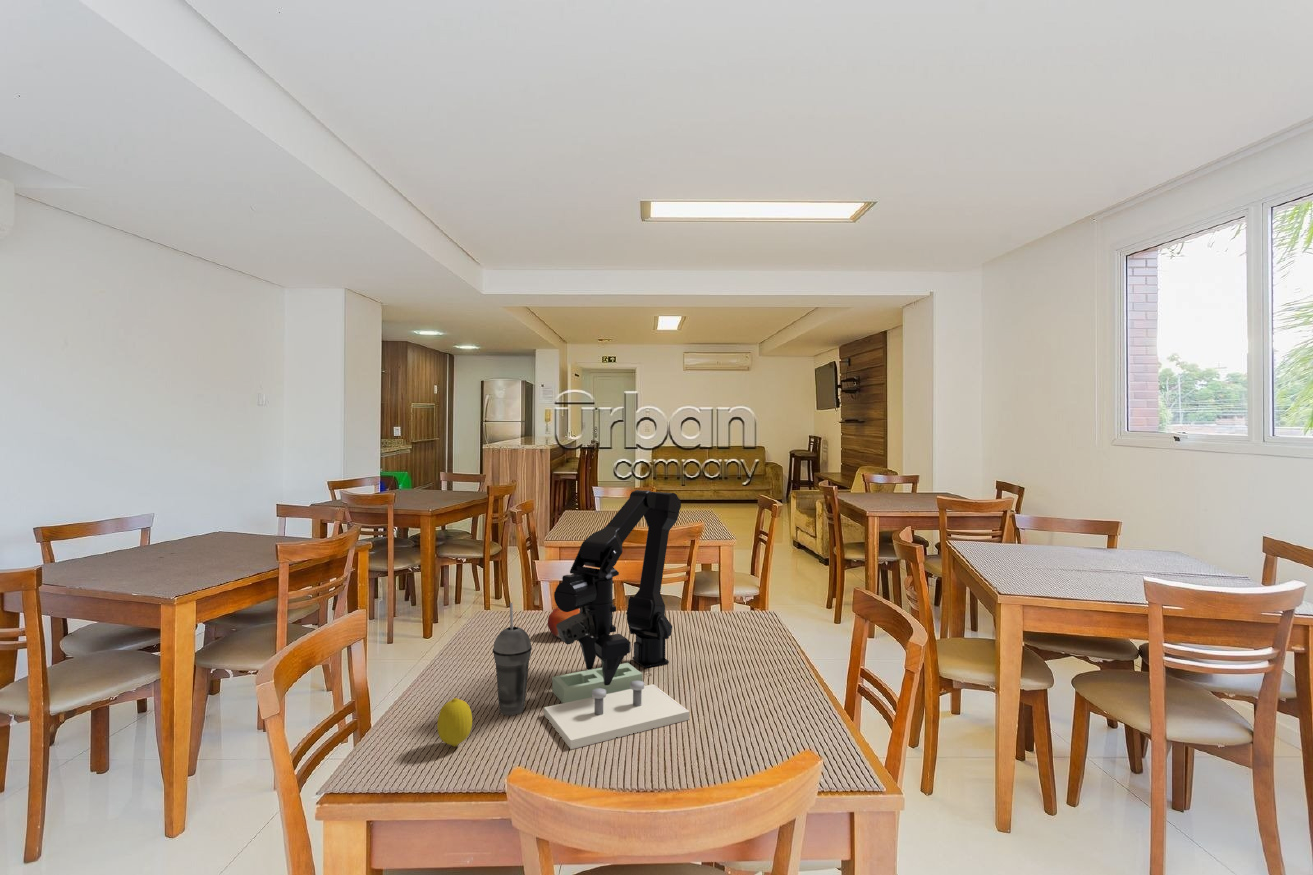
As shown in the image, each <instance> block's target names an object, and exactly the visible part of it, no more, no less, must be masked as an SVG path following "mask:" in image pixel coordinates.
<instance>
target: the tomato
mask: <svg viewBox="0 0 1313 875" xmlns="http://www.w3.org/2000/svg"><path fill="white" fill-rule="evenodd" d="M578 613H580V608H579V609H576V610H573V611H570V612H564V611H562V610H560V609H559V608H558V607H556V608H554V609H553V610H552V611H551V612H550V614H549V615H548V618H547V627H548V629H549V631H550V632H551V634H552V635H553V636H555V637H556V638H559V639H561V638H560V635H559V632H558V630H557V627H556V625H557V624H558V623H560V622H562V621H563V620H565V619H567V618H569V617H571V616H573V615H576V614H578Z"/></svg>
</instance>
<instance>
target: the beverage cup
mask: <svg viewBox="0 0 1313 875" xmlns="http://www.w3.org/2000/svg"><path fill="white" fill-rule="evenodd" d="M513 606H514V604H513V602H509V624H510V626H509V627H506V628H504V629H502V631H500V632H499V633H498V635H497V636H496V638H495V640H494V644H493V648H492V653H493V659H494V663H495V673H496V674H495V675H496V686H497V698H498V708H499V713H500V714H501V715H503V716H515V715H514V714H517V715H519V714H522V713H524V711H523V710H525V704H526V697H527V685H528V678H529V677H528V676H529V674H528V673H529V664H530V659H531V655H532V650H533V648H532V642H531V639H530V636H529V634H528V633H527V632H526V631H525V630H524V629H522V628H521V627H520V626H519V627H518V626H514V614H513V612H514V610H513ZM521 712H522V713H521Z"/></svg>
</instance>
